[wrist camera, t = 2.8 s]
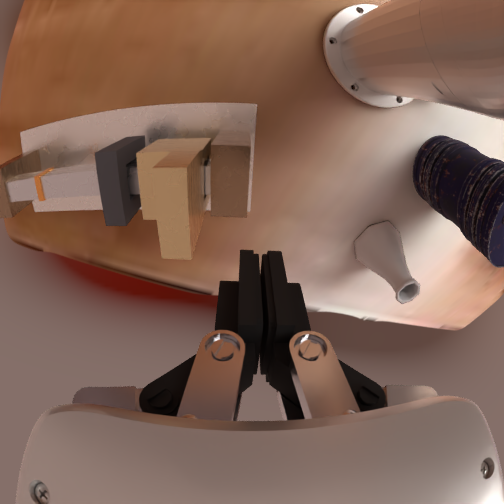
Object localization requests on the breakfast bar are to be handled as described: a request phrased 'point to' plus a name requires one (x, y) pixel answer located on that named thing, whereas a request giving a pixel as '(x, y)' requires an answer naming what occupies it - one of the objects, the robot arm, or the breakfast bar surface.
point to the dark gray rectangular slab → (118, 180)
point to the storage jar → (464, 191)
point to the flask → (387, 259)
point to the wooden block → (174, 191)
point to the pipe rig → (114, 129)
